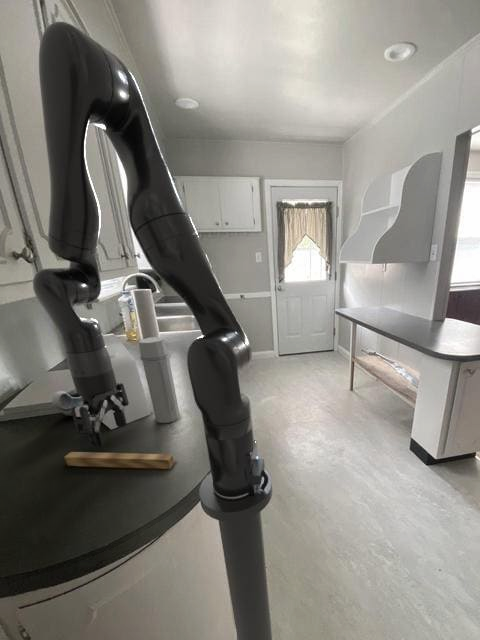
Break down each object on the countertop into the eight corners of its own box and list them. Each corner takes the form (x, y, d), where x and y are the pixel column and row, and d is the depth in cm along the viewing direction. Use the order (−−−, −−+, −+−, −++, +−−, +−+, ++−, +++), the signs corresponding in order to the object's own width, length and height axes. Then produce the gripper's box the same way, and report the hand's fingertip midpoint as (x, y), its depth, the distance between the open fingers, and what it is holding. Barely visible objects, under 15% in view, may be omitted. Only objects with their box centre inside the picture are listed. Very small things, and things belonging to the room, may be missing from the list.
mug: (101, 405, 104) (93, 378, 100) (84, 423, 93) (74, 393, 89) (70, 408, 103) (61, 381, 99) (50, 426, 92) (38, 396, 88)
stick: (174, 463, 73) (172, 454, 72) (170, 469, 71) (168, 459, 70) (74, 460, 75) (70, 451, 74) (67, 466, 73) (63, 457, 72)
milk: (135, 404, 104) (116, 329, 94) (150, 414, 97) (132, 334, 87) (97, 417, 96) (71, 337, 86) (111, 429, 89) (85, 343, 79)
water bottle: (150, 419, 94) (132, 340, 84) (175, 410, 99) (160, 335, 89) (162, 430, 88) (144, 346, 78) (188, 420, 92) (173, 340, 83)
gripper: (84, 382, 57) (106, 454, 63) (128, 358, 70) (142, 420, 76) (47, 381, 58) (73, 453, 64) (97, 358, 71) (114, 419, 77)
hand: (110, 435), depth 70 cm, fingers open, 8 cm apart
